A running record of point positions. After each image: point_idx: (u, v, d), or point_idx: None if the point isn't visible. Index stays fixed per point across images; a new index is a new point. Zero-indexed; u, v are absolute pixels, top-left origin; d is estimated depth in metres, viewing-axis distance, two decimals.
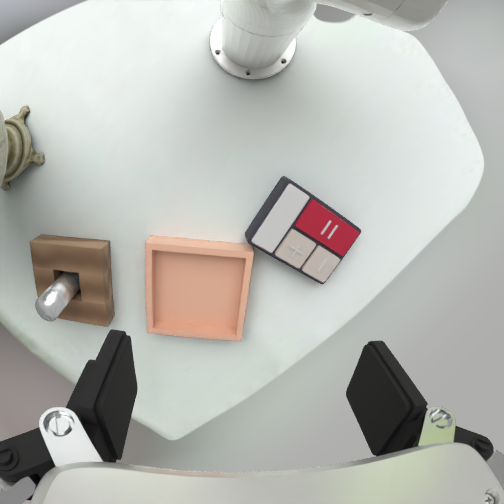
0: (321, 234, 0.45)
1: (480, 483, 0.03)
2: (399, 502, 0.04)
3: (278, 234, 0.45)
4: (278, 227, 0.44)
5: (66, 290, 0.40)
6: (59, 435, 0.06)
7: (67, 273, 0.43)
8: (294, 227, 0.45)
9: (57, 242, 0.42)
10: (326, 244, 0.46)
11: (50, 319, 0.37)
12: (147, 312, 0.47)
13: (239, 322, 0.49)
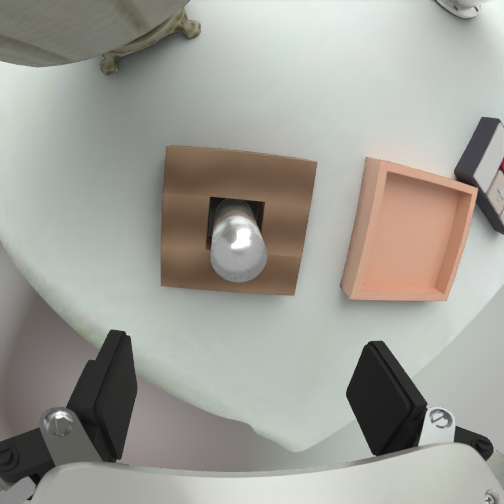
0: None
1: (480, 483, 0.03)
2: (399, 502, 0.04)
3: (491, 173, 0.30)
4: (492, 165, 0.29)
5: None
6: (59, 435, 0.06)
7: (237, 204, 0.29)
8: (499, 169, 0.30)
9: None
10: None
11: (242, 278, 0.22)
12: (360, 267, 0.32)
13: (452, 275, 0.34)
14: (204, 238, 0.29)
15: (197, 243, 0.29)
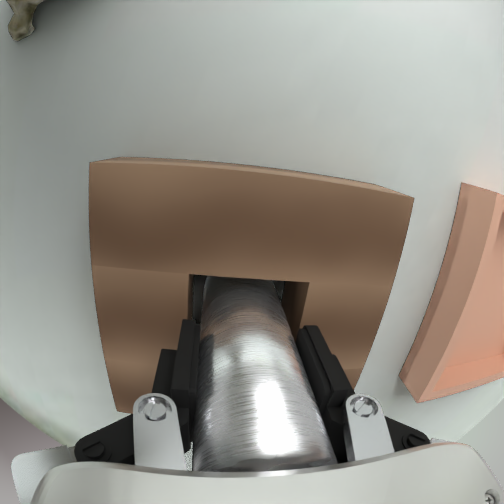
0: None
1: (480, 483, 0.03)
2: (399, 502, 0.04)
3: None
4: None
5: (301, 361, 0.10)
6: (150, 419, 0.07)
7: (249, 287, 0.14)
8: None
9: (218, 166, 0.12)
10: None
11: None
12: (441, 362, 0.17)
13: None
14: None
15: None
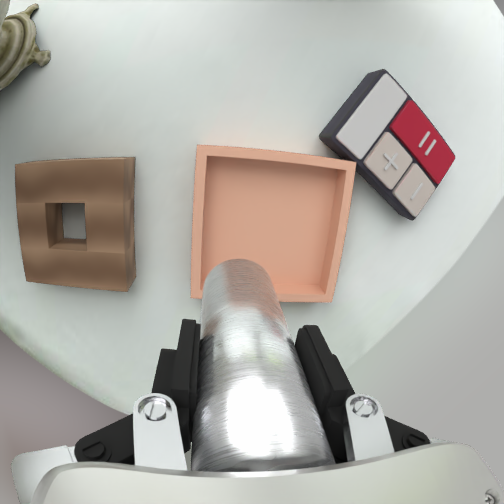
0: (419, 147, 0.29)
1: (480, 483, 0.03)
2: (399, 502, 0.04)
3: (371, 134, 0.28)
4: (371, 124, 0.28)
5: (300, 362, 0.10)
6: (150, 418, 0.07)
7: (248, 288, 0.14)
8: (388, 131, 0.29)
9: None
10: (423, 162, 0.30)
11: None
12: (192, 263, 0.31)
13: (332, 272, 0.33)
14: (46, 239, 0.28)
15: (42, 243, 0.28)
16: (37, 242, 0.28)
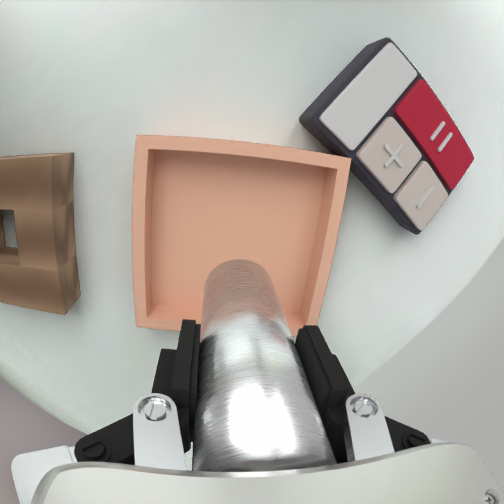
0: (430, 140, 0.22)
1: (480, 483, 0.03)
2: (399, 502, 0.04)
3: (368, 118, 0.21)
4: (369, 105, 0.20)
5: (301, 363, 0.10)
6: (151, 419, 0.07)
7: (249, 289, 0.14)
8: (392, 116, 0.21)
9: None
10: (435, 161, 0.22)
11: None
12: (135, 285, 0.24)
13: (315, 301, 0.26)
14: None
15: None
16: None
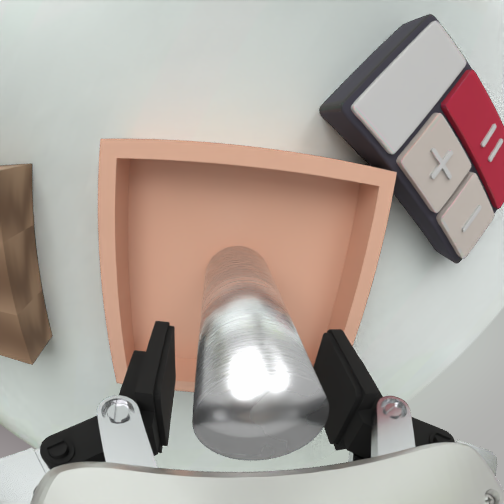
0: (481, 146, 0.15)
1: (480, 483, 0.03)
2: (399, 502, 0.04)
3: (412, 112, 0.14)
4: (414, 95, 0.14)
5: None
6: (115, 421, 0.07)
7: (246, 265, 0.15)
8: (439, 112, 0.15)
9: None
10: (484, 173, 0.16)
11: (268, 453, 0.08)
12: (110, 338, 0.17)
13: None
14: None
15: None
16: None
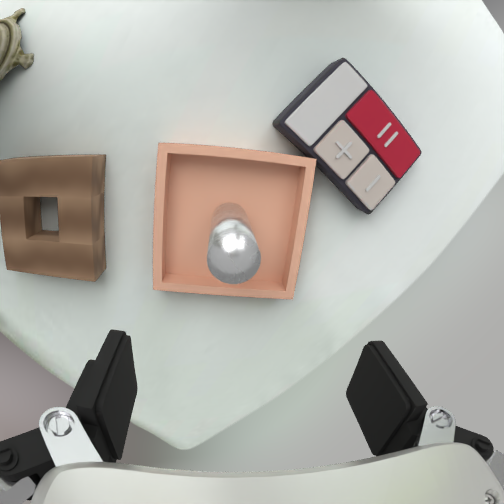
0: (377, 138, 0.30)
1: (480, 483, 0.03)
2: (399, 502, 0.04)
3: (323, 121, 0.29)
4: (324, 111, 0.28)
5: None
6: (59, 435, 0.06)
7: (233, 209, 0.30)
8: (344, 119, 0.29)
9: (33, 157, 0.27)
10: (382, 154, 0.31)
11: (237, 280, 0.23)
12: (154, 255, 0.32)
13: (292, 269, 0.34)
14: (24, 230, 0.28)
15: (21, 234, 0.29)
16: (16, 233, 0.28)
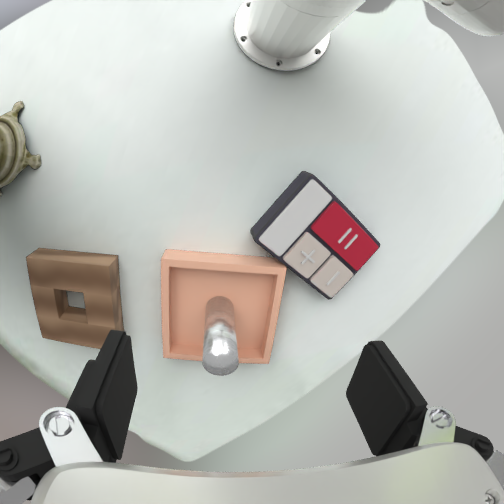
0: (338, 243, 0.39)
1: (480, 483, 0.03)
2: (399, 502, 0.04)
3: (291, 235, 0.38)
4: (292, 227, 0.38)
5: (234, 333, 0.36)
6: (59, 435, 0.06)
7: (221, 309, 0.39)
8: (309, 230, 0.38)
9: (57, 257, 0.36)
10: (341, 255, 0.40)
11: (223, 373, 0.33)
12: (163, 336, 0.41)
13: (268, 344, 0.43)
14: (56, 312, 0.38)
15: (53, 315, 0.38)
16: (49, 313, 0.38)
